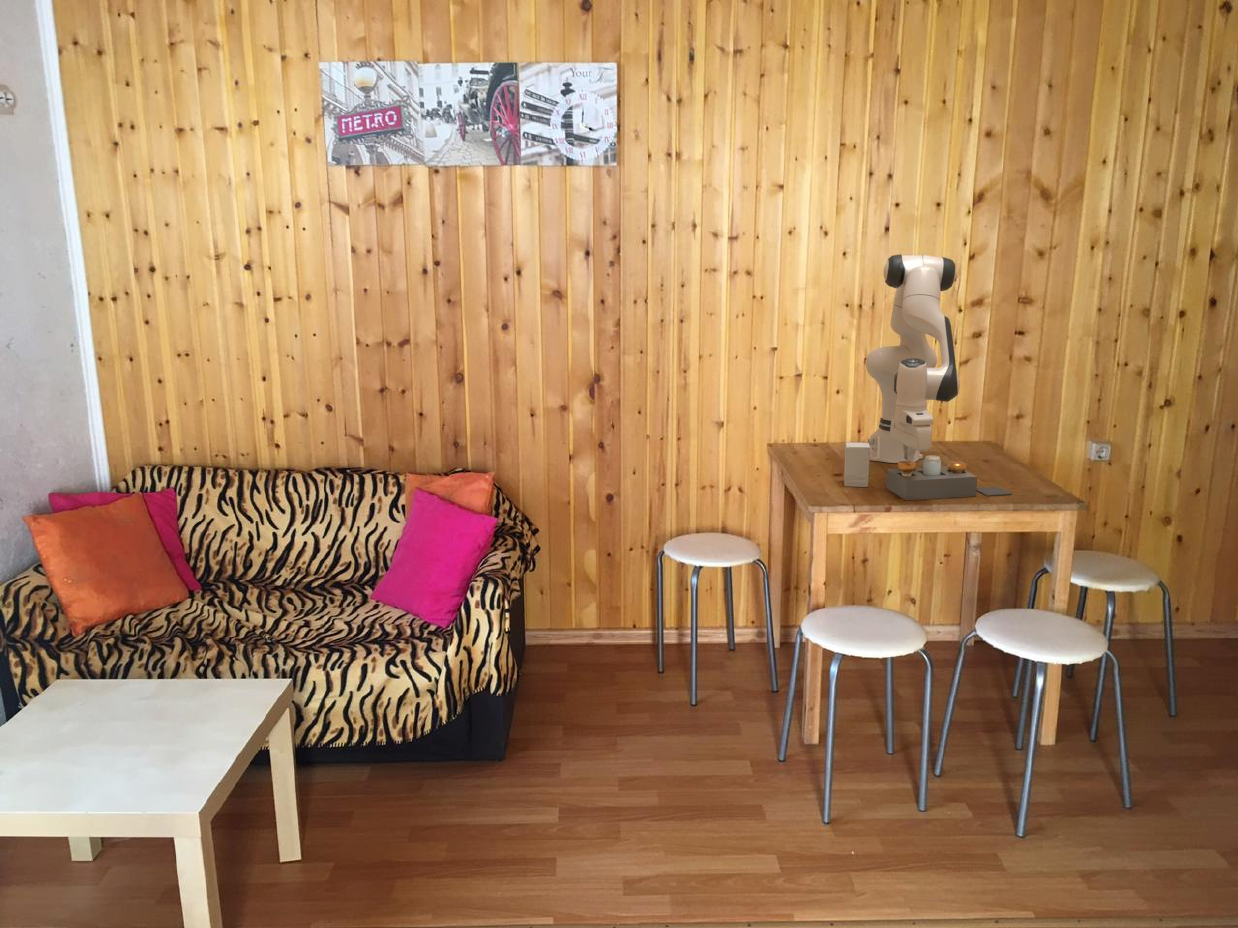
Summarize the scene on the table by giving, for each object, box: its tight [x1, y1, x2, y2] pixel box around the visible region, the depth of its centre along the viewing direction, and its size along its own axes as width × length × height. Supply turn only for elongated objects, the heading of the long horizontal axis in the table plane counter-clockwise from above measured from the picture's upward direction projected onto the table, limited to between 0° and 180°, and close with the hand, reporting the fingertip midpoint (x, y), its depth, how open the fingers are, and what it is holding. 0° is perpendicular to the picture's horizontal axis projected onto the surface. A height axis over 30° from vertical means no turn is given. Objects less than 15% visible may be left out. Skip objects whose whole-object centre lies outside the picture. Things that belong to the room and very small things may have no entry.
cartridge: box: [922, 454, 942, 476], centre depth 304 cm, size 5×5×11 cm
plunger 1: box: [897, 461, 917, 477], centre depth 303 cm, size 5×5×8 cm
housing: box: [885, 465, 978, 501], centre depth 305 cm, size 14×22×6 cm, turn 99°
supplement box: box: [843, 441, 870, 488], centre depth 314 cm, size 7×7×13 cm
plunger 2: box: [947, 460, 967, 474], centre depth 305 cm, size 5×5×8 cm
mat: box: [976, 486, 1013, 497], centre depth 304 cm, size 8×8×1 cm
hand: (908, 460), depth 301 cm, fingers closed
